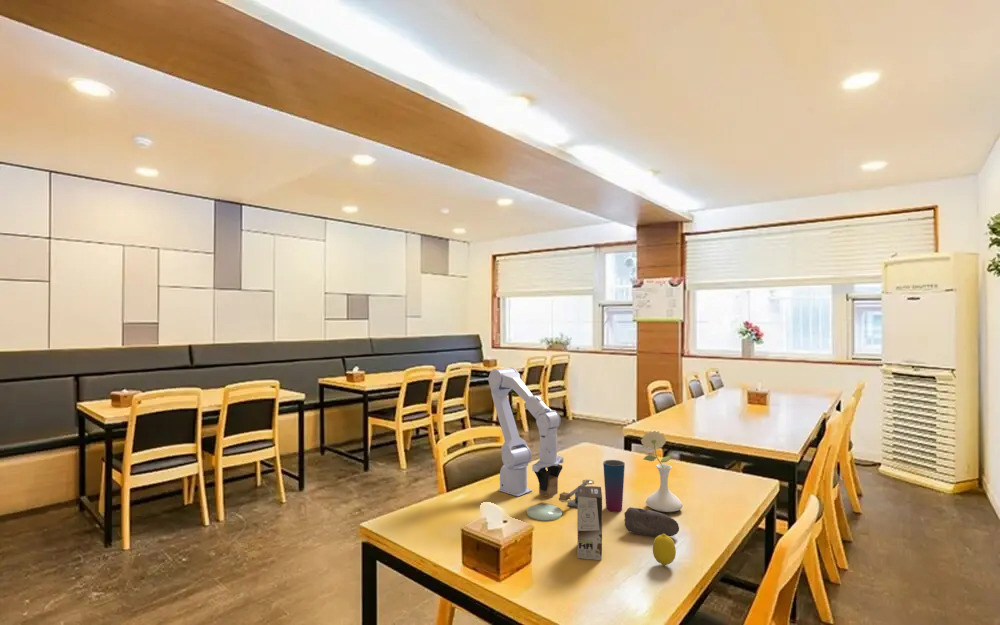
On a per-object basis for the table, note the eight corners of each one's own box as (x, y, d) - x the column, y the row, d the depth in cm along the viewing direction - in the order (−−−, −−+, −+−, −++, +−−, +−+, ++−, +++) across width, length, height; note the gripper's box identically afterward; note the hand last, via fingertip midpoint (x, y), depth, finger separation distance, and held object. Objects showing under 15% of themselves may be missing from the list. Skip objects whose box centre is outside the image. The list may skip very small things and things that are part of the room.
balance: (556, 510, 167) (556, 490, 167) (586, 496, 179) (586, 477, 179) (566, 513, 164) (566, 493, 164) (596, 499, 177) (596, 480, 177)
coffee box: (602, 560, 133) (602, 497, 133) (577, 558, 134) (577, 496, 134) (601, 545, 142) (601, 486, 142) (578, 543, 143) (577, 484, 143)
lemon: (649, 561, 132) (649, 529, 132) (670, 560, 133) (670, 529, 133) (657, 571, 127) (657, 539, 127) (679, 570, 127) (679, 538, 127)
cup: (625, 513, 164) (625, 466, 164) (603, 512, 165) (603, 465, 165) (624, 505, 170) (624, 460, 170) (603, 504, 172) (603, 459, 172)
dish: (520, 514, 164) (520, 510, 164) (541, 504, 172) (541, 501, 172) (547, 523, 156) (547, 520, 156) (569, 513, 164) (569, 510, 164)
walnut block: (539, 493, 173) (539, 477, 173) (547, 490, 177) (547, 474, 177) (549, 496, 170) (549, 480, 170) (557, 493, 174) (557, 477, 174)
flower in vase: (684, 505, 171) (684, 429, 171) (680, 517, 160) (680, 437, 161) (643, 499, 176) (643, 426, 176) (637, 511, 166) (637, 433, 166)
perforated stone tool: (679, 535, 148) (679, 510, 148) (678, 542, 143) (678, 517, 143) (625, 527, 153) (625, 504, 153) (623, 534, 148) (623, 510, 148)
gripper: (544, 454, 165) (544, 496, 165) (570, 445, 176) (570, 485, 176) (527, 450, 170) (527, 491, 170) (554, 442, 181) (553, 481, 181)
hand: (548, 488), depth 174 cm, fingers closed on walnut block, 4 cm apart
